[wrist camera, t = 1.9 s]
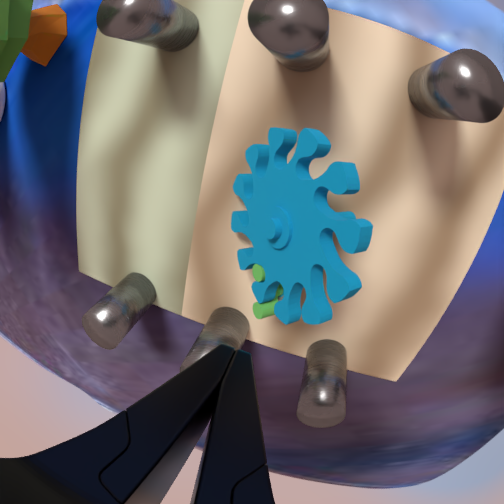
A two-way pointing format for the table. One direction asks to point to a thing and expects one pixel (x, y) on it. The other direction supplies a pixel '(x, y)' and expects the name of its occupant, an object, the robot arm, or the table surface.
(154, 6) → the spacer posts
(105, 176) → the board
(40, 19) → the decorative tree
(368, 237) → the gear
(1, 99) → the bath foam
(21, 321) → the table surface
